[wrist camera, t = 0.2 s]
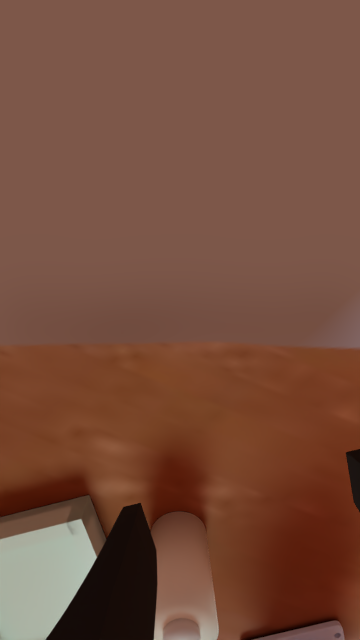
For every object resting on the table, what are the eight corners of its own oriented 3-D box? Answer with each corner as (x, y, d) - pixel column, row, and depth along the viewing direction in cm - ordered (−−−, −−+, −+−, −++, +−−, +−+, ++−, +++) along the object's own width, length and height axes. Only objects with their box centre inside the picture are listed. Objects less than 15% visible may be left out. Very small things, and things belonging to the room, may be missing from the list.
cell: (211, 549, 24) (227, 661, 17) (159, 562, 24) (155, 679, 17) (198, 505, 23) (209, 606, 16) (143, 519, 23) (133, 624, 16)
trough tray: (142, 632, 25) (140, 664, 23) (7, 664, 25) (-6, 699, 23) (89, 495, 22) (81, 519, 20) (-63, 533, 22) (-85, 560, 20)
